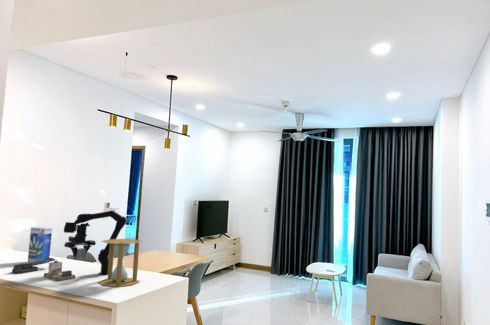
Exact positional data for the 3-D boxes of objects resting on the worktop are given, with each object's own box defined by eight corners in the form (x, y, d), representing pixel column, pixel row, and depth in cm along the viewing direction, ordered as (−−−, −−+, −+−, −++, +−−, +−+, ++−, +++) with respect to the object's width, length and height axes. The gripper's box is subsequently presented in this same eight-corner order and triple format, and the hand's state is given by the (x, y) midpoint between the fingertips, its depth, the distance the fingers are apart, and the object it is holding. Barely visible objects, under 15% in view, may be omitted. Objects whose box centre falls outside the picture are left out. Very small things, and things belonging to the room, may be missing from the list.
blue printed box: (27, 262, 260) (30, 227, 263) (35, 260, 267) (39, 226, 270) (41, 264, 256) (44, 228, 259) (49, 262, 264) (52, 227, 266)
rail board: (75, 278, 219) (76, 262, 220) (59, 281, 210) (60, 264, 211) (59, 274, 229) (60, 258, 230) (43, 276, 221) (45, 260, 221)
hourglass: (146, 281, 217) (149, 240, 219) (116, 289, 198) (120, 244, 200) (120, 276, 229) (123, 237, 231) (90, 282, 210) (93, 240, 212)
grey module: (85, 258, 233) (86, 249, 234) (76, 260, 228) (77, 249, 229) (81, 258, 235) (82, 248, 236) (72, 259, 231) (73, 249, 231)
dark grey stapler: (56, 258, 245) (17, 263, 224) (55, 268, 244) (16, 274, 223) (49, 257, 250) (10, 262, 229) (48, 266, 249) (9, 272, 228)
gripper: (87, 231, 246) (85, 253, 244) (60, 232, 230) (58, 257, 229) (96, 232, 239) (95, 256, 238) (70, 234, 224) (68, 259, 222)
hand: (79, 257), depth 232 cm, fingers closed on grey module, 6 cm apart
